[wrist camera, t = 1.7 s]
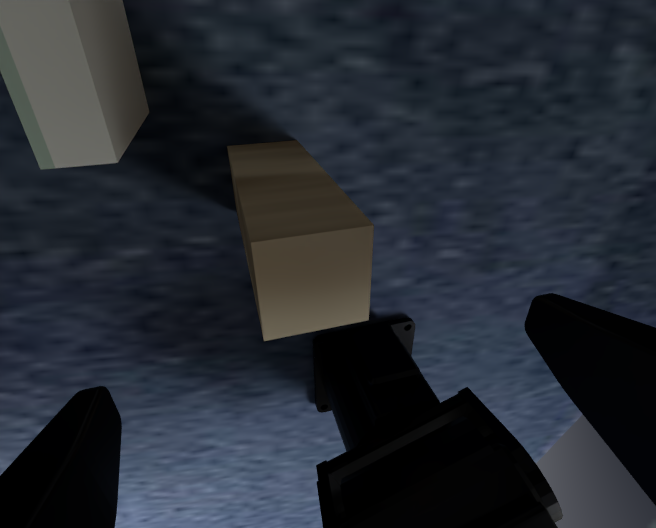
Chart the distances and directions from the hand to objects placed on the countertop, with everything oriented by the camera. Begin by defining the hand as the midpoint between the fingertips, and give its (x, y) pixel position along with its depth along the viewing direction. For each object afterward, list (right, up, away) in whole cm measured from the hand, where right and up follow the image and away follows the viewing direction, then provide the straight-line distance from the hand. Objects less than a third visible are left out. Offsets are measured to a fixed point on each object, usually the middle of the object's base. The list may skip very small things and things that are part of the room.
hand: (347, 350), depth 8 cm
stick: (-3, +6, +9) cm, 11 cm away
